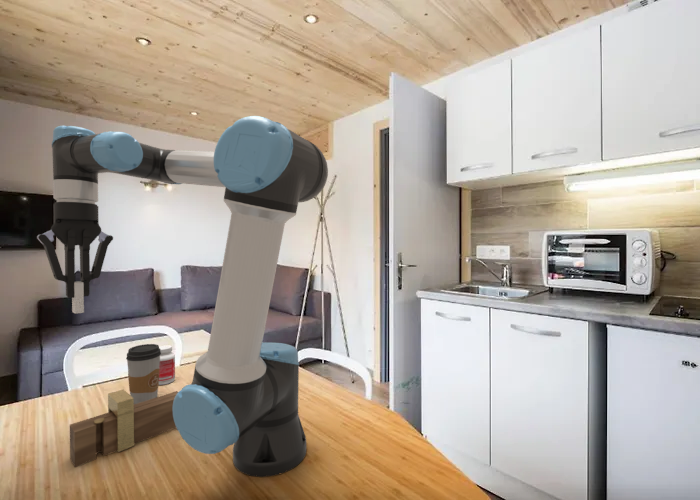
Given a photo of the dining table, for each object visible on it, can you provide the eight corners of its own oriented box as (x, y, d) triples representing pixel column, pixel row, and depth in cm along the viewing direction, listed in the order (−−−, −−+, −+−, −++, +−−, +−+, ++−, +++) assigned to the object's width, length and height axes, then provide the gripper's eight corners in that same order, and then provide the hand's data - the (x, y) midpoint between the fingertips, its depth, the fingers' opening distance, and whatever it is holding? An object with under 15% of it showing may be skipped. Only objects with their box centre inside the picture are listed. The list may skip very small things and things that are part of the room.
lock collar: (134, 445, 75) (133, 398, 75) (117, 452, 73) (117, 403, 72) (123, 434, 79) (123, 389, 79) (108, 440, 77) (108, 393, 77)
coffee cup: (145, 409, 91) (145, 353, 91) (119, 406, 93) (118, 351, 93) (168, 396, 100) (167, 344, 99) (143, 393, 101) (142, 342, 101)
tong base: (184, 424, 84) (184, 394, 84) (74, 467, 68) (74, 430, 68) (176, 418, 87) (176, 389, 87) (70, 458, 71) (69, 422, 71)
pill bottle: (177, 381, 110) (177, 347, 109) (156, 387, 105) (156, 351, 105) (171, 376, 114) (171, 343, 114) (150, 381, 110) (150, 347, 110)
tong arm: (183, 424, 84) (183, 396, 84) (103, 455, 72) (103, 422, 72) (180, 421, 86) (180, 393, 85) (101, 452, 73) (100, 419, 73)
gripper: (107, 206, 81) (108, 305, 82) (32, 200, 71) (34, 314, 72) (117, 203, 76) (118, 310, 77) (38, 198, 66) (40, 320, 67)
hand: (78, 312), depth 74 cm, fingers closed
